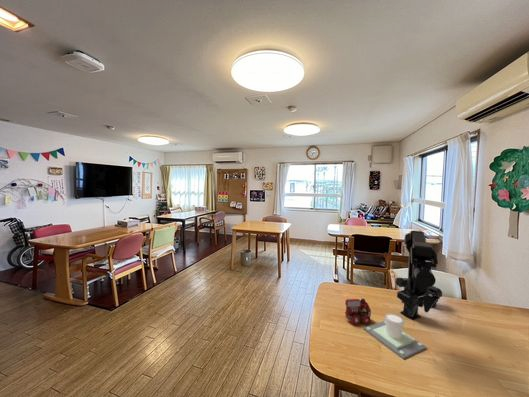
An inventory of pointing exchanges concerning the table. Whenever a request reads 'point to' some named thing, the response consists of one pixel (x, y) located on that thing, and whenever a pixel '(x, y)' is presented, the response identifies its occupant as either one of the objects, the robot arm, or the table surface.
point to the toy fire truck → (358, 311)
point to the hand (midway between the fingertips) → (418, 314)
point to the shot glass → (394, 326)
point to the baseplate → (395, 340)
